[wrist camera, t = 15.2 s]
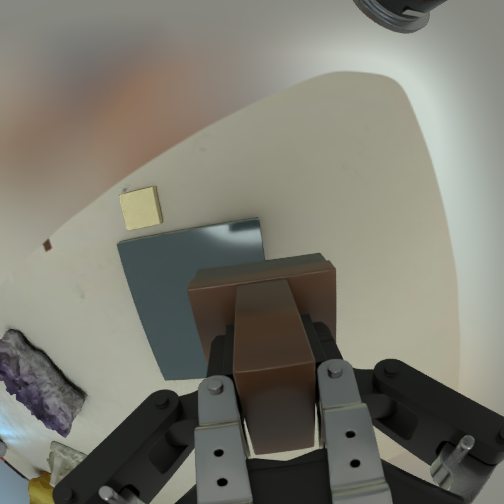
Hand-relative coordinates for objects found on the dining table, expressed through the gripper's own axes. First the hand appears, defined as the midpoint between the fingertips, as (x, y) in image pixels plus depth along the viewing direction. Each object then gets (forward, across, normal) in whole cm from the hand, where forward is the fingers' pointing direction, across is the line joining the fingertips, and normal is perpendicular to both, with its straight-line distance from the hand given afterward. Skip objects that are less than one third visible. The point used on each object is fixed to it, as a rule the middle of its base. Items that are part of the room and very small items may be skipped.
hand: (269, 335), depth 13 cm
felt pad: (+19, +12, -5) cm, 22 cm away
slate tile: (+18, +7, +8) cm, 22 cm away
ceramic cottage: (+18, +52, +52) cm, 76 cm away
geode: (+18, +40, +19) cm, 48 cm away
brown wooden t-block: (+4, 0, 0) cm, 4 cm away
